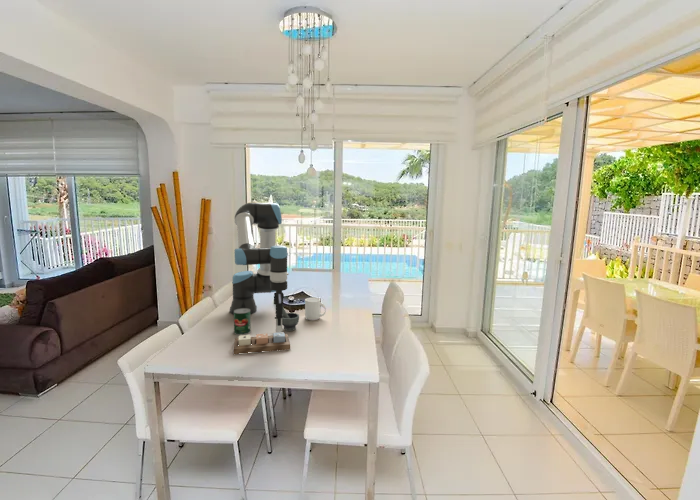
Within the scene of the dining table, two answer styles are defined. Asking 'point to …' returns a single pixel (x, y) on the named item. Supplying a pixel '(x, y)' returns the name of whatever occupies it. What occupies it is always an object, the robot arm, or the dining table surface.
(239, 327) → the canned tomato
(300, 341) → the dining table surface
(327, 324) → the dining table surface
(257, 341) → the button block
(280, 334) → the button block
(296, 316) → the mortar and pestle
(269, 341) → the button board
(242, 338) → the button block
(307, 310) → the mug
